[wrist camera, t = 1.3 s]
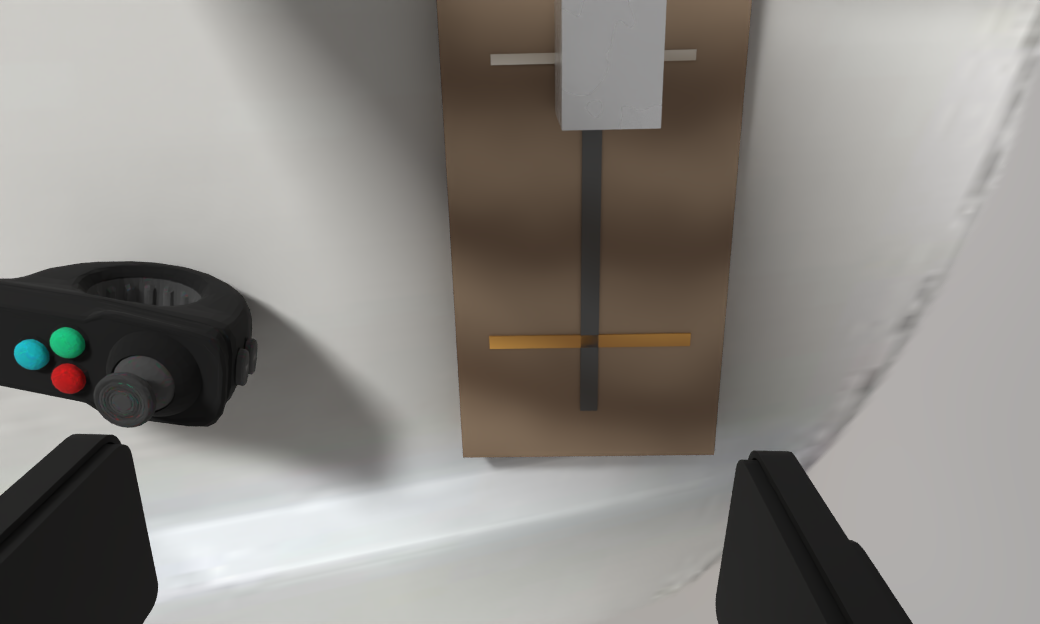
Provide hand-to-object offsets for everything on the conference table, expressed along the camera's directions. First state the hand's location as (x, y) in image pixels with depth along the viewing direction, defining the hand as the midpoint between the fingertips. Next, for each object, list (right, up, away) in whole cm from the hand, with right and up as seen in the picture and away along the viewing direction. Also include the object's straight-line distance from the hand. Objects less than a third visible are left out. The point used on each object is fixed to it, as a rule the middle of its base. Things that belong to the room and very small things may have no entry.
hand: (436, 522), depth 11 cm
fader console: (+4, +7, +21) cm, 23 cm away
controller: (-16, +4, +23) cm, 28 cm away
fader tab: (+4, +13, +16) cm, 21 cm away
